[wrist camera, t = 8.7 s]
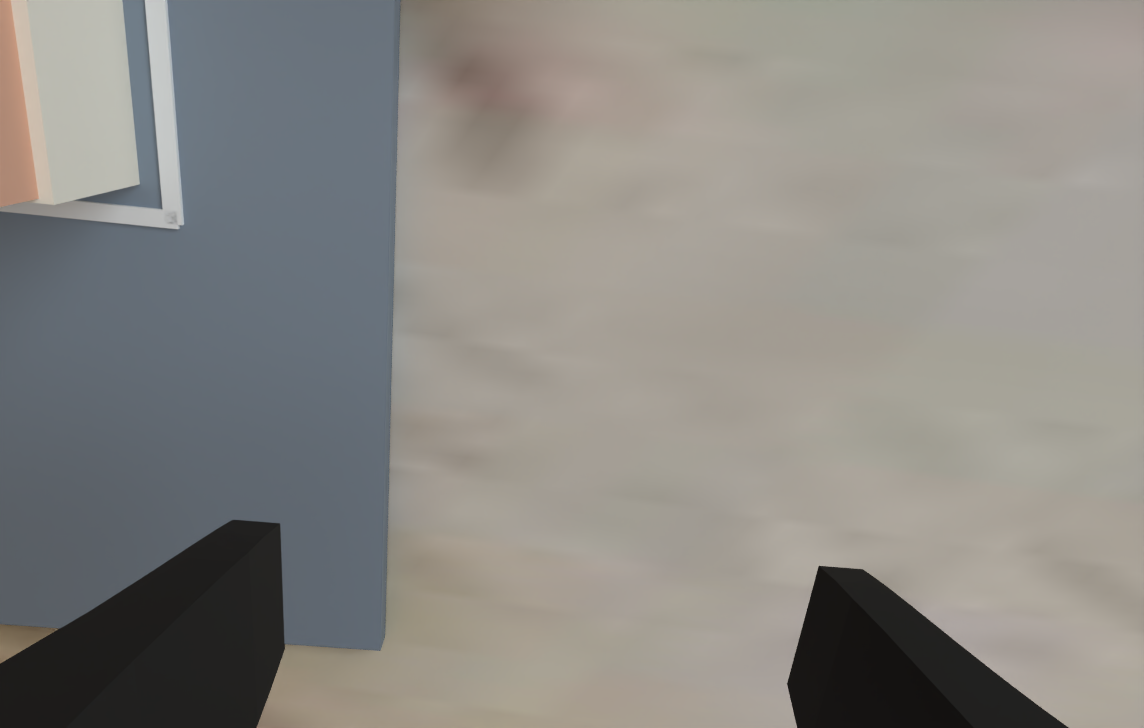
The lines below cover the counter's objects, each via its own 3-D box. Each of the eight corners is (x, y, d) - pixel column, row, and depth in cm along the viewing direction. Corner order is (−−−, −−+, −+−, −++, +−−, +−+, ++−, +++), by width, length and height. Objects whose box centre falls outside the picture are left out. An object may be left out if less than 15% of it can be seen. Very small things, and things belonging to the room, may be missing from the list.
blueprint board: (384, 635, 22) (353, 737, 18) (-192, 595, 21) (-337, 693, 17) (404, -175, 15) (359, -252, 11) (-464, -291, 14) (-795, -413, 10)
